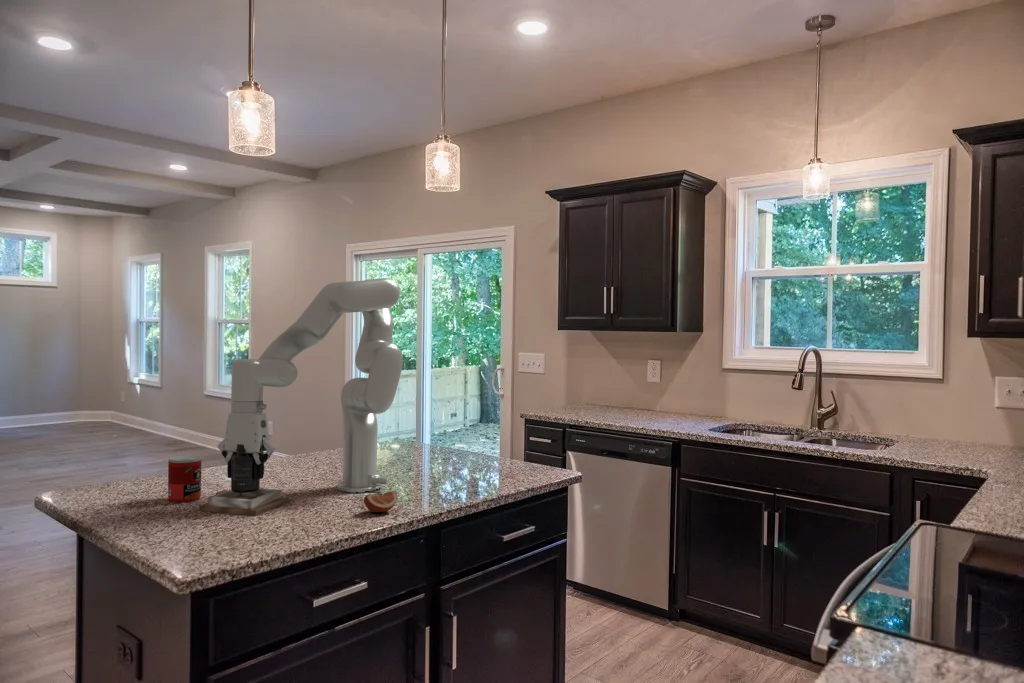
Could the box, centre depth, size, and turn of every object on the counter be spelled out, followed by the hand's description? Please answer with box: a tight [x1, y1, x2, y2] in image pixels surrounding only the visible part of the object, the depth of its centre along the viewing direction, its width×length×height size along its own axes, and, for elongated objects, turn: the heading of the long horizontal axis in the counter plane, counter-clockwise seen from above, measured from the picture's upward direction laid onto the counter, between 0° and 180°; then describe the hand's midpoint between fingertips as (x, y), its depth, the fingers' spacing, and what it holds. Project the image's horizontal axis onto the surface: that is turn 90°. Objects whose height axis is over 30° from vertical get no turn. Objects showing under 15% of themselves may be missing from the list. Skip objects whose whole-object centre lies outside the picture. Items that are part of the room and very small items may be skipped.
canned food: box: [167, 454, 202, 504], centre depth 174 cm, size 8×8×11 cm
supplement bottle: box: [230, 444, 261, 493], centre depth 169 cm, size 7×7×12 cm
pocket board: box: [198, 487, 290, 516], centre depth 169 cm, size 16×14×3 cm
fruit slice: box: [363, 490, 398, 513], centre depth 165 cm, size 8×7×5 cm
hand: (245, 477), depth 169 cm, fingers closed on supplement bottle, 6 cm apart
